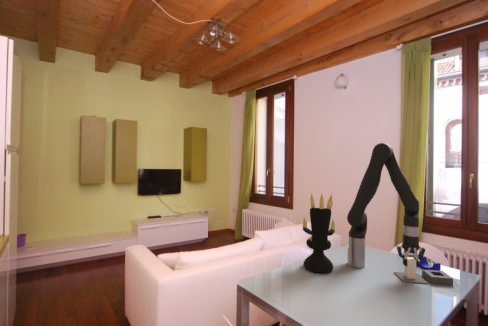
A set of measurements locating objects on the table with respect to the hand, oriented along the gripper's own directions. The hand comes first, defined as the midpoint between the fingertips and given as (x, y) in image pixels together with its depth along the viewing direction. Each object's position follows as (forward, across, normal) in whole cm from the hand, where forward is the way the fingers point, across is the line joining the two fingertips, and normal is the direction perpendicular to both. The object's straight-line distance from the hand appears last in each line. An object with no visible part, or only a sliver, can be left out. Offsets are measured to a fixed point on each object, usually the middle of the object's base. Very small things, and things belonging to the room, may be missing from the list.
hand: (410, 265), depth 144 cm
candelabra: (+7, -47, +2) cm, 48 cm away
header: (+7, +13, 0) cm, 15 cm away
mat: (+7, 0, 0) cm, 7 cm away
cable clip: (+7, +16, +15) cm, 23 cm away
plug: (+6, 0, 0) cm, 6 cm away
